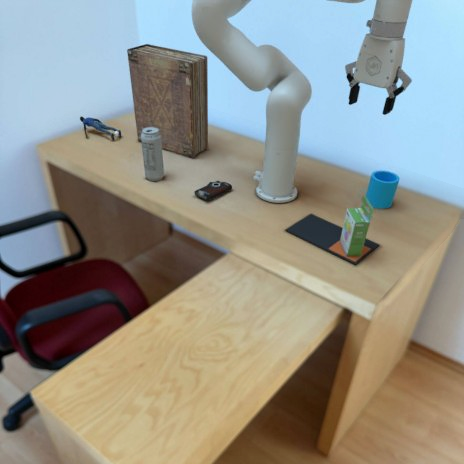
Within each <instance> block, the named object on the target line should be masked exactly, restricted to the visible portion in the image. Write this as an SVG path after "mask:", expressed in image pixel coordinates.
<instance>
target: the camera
mask: <svg viewBox="0 0 464 464" xmlns="http://www.w3.org/2000/svg"><path fill="white" fill-rule="evenodd" d="M231 190H233V185H232V184H231V183H229V182H226V181H220V180H216V181H210V182H209V183H208V184H207V185H205V186H202V187H200V188H198V189H196V190H194V192H193V193H194V195H195V196H196V197H198V198H200V199H201V200H202V199H203V200H204V201H209V200H214V199H216V198H217V197H220V196H222V195H224V194H226V193H228V192H229V191H231Z"/></svg>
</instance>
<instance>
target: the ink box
mask: <svg viewBox="0 0 464 464" xmlns="http://www.w3.org/2000/svg"><path fill="white" fill-rule="evenodd" d="M366 205H367V206H368V208H367V207H366ZM368 209H369V210H368ZM374 210H375V208H374V207H372V206H371V204H370V202H369V201H368V199H367V198H366V194H364V195H363V198H362V204H361V206H360V207H356V208H355V207H351V208H346V212H345V215H344V221H343V224H342V228H343V229H342V234H341V239H340V243H341V245H342V247H343V249H344V252H345V254H346V256H361V254H362V250H363V246H364V242H365V239H367V235H368V232H369V227H370V225H371V220H372V217H373V214H374Z"/></svg>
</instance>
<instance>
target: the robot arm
mask: <svg viewBox="0 0 464 464" xmlns="http://www.w3.org/2000/svg"><path fill="white" fill-rule="evenodd" d="M251 1H252V0H192V3H191V21H192V25H193V28H194V31H195V33H196V35H197V37H198V39H199V41H200V42H201V43H202V44H203V45H204V47H205V48H206V49H207V50H209V51H210V53H212V54H213V55H214V56H215V57H216V58H217V59H218V60H219V61H220V62H221V63H222V64H223V65H224V66H225V67H226V68H227V69H228V70H229V71H230V72H231V74H233V75H234V76H235V77H236V78H237V79H238V80H239V81H240V82H241V83H242V84H243V85H244V86H245V87H246V88H248V90H250V91H251V92H257V93H258V92H261V91H265V90H266V89H268V90H269V91H270V93H269V95H268V96H267V99H266V104H265V119H266V121H265V122H266V124H265V125H266V126H265V140H264V153H263V154H264V155H263V166H262V171H260V170H256V171H255V173H254V175H253V177H252V178H253V180H254V181H256V182H258V184H257V186H256V189H255V190H256V191H255V193H256V195H257V196H258V197H259V198H260V199H261V200H263V201H266V202H270V203H275V204H283V203H284V204H285V203H289V202H291V201H293V200H295V199H296V198H297V196H298V188H296V187H295V186H294V181H295V175H296V166H297V160H298V152H299V147H300V145H299V144H300V136H301V124H302V123H301V120H302V114H303V111H304V109H305V108H306V107H307V105H308V104H309V102H310V100H311V99H312V95H313V91H312V90H313V89H312V84H311V82H310V80H309V79H308V77H307V76H306V75H305V74H304V73H303V72H302V71H301V70H300V69H299V68H298V67H297V66H296V64H295V63H293V61H291V59H289V58H288V56H287V55H286V54H285V53H284V52H282V50H280V49H279V48H278V47H276V46H274V45H272V44H262V45H261V44H260V45H258V46H257V45H256V44H255V43H253V42H252V41H251V39H249V38H248V37H247V36H246V34H244V32H242V31H241V29H239V28H237V27H236V26H235V25H233V24H232V23H231V22H230V21H229V19H230V18H232V17H234V16H236V15H237V14H238V13H240V12H241V11H242V10H243V9H244V8H246V6H247V5H248V4H249V3H250V2H251ZM327 1H330V2H336V3H345V4H359V3H360V4H361V3H363V2H364V1H366V0H327ZM412 3H413V0H376V1H375V6H374V9H373V10H374V11H373V15H372V18H371V19H368V20H367V21H366V24H365V26H366V27H367V28H368V30H369V33H366V34H365V36H364V38H363V40H362V43H361V46H360V49H359V52H358V54H357V59H356V60H355V61H353V62H349V63H347V64H345V65H344V69H345V74H346V77H345V78H346V80H347V81H348V83H349V84H348V87H349V88H350V89H349V95H348V105H349V106H352V105H354V104H356V103H357V102H358V99H359V94H360V90H361V85H360V84H364V85H368V86H371V87H376V88H380V89H386V92H387V95H388V96H386V98H385V101H384V106H383V109H382V115H384V116H386V115H388V114H390V113H391V112H392V111H393V110H394V106H395V103H396V99H397V97H398V96H399V95H400V94H402V93H404V92H406V90H407V88H408V87H409V86H410V85H411V84H412V83H413V82H412V81H413V79H412V78H411V76H409V75H408V74H407V72H405V71H404V70H403V69H402V67H403V62H404V61H403V60H404V56H405V48H406V38H404V35H405V32H406V28H407V23H408V19H409V15H410V12H411V7H412ZM399 79H400V81H401V84H400V85H399V87H398V86H397V85H398V82H399Z"/></svg>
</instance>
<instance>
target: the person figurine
mask: <svg viewBox="0 0 464 464" xmlns="http://www.w3.org/2000/svg"><path fill="white" fill-rule="evenodd" d="M79 121H80V122H82V124H83V130H84V131H83V132H84V135H85V137H86V138H88V134H87V127H89V128H90V127H91V128H94V130H96V131H98V132H101V133H104V134H106V135H108V136H110V138H111V141H112V142H113V141H115V136H116V137H118V138H121V137H122V131H121V129H117V128H115V127H113V126H108V125H106V124H104V123H103V122H102V121H100V120H99V119H98V118H95V117H84V116H80V117H79ZM110 131H112V132H110Z"/></svg>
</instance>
